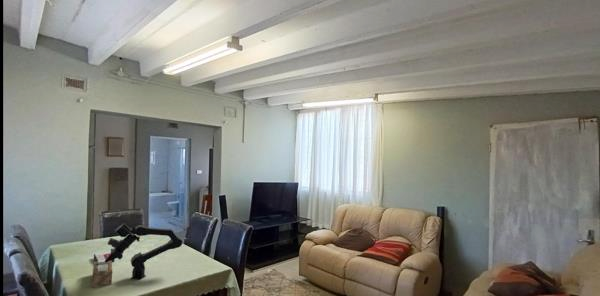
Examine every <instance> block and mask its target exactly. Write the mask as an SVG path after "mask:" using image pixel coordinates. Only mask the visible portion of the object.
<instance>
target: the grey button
mask: <svg viewBox="0 0 600 296" xmlns="http://www.w3.org/2000/svg"><path fill="white" fill-rule="evenodd" d="M105 260H106V259H102V260H98V265H105V264H108V262H105Z"/></svg>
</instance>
